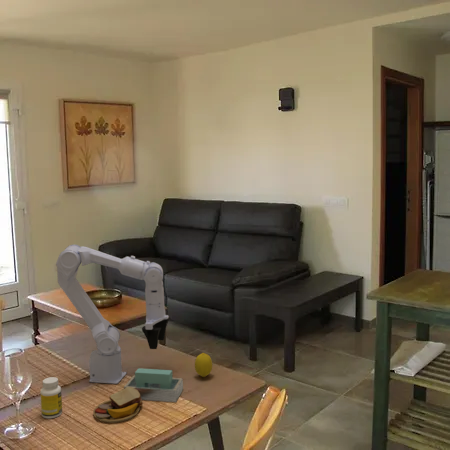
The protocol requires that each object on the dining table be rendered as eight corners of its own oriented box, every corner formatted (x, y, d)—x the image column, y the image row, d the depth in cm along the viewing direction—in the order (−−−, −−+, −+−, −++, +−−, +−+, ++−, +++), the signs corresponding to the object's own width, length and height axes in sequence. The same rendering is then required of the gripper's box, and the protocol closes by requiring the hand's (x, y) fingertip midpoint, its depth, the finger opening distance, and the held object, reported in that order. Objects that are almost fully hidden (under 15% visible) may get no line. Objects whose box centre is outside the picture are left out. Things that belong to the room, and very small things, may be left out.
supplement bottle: (62, 417, 141) (60, 382, 139) (41, 420, 139) (38, 385, 138) (62, 408, 146) (60, 374, 145) (42, 411, 144) (40, 377, 143)
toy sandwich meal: (88, 409, 146) (87, 393, 145) (134, 397, 152) (133, 382, 151) (100, 429, 135) (99, 412, 134) (150, 416, 141) (149, 399, 141)
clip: (135, 393, 153) (134, 372, 152) (139, 389, 156) (138, 368, 155) (170, 396, 151) (169, 374, 150) (172, 391, 154) (172, 370, 153)
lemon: (210, 381, 161) (209, 356, 160) (193, 380, 163) (192, 355, 161) (214, 374, 167) (213, 350, 166) (197, 372, 168) (196, 349, 167)
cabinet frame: (124, 398, 151) (123, 387, 150) (133, 386, 159) (133, 375, 158) (175, 402, 148) (175, 390, 148) (183, 389, 156) (182, 378, 156)
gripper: (160, 309, 155) (162, 353, 157) (173, 296, 169) (175, 336, 171) (137, 309, 156) (140, 352, 158) (152, 295, 171) (154, 335, 172)
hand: (157, 344), depth 165 cm, fingers open, 7 cm apart
